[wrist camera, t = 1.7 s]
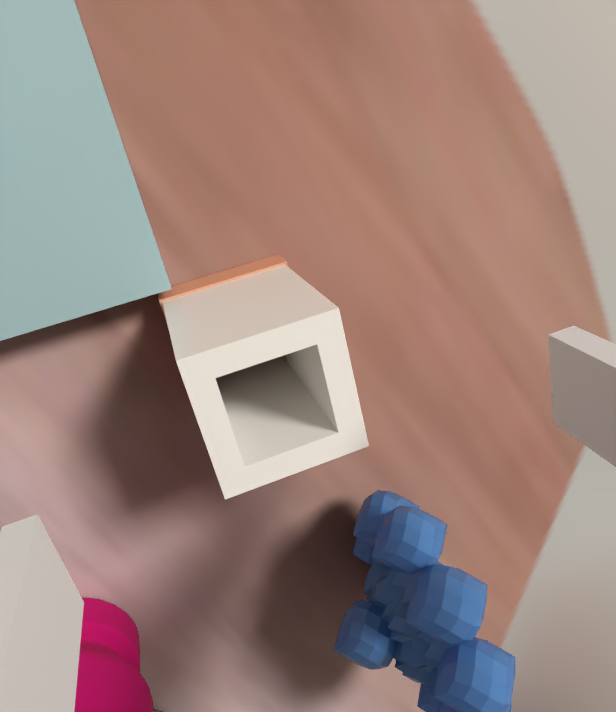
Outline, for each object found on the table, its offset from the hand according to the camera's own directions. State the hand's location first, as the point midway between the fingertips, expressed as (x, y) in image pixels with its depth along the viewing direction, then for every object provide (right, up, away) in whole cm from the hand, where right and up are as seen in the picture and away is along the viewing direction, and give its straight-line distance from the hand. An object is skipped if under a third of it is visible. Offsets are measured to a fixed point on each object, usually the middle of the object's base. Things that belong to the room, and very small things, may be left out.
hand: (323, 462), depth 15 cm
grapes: (+2, -7, +17) cm, 18 cm away
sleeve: (-3, +4, +11) cm, 12 cm away
